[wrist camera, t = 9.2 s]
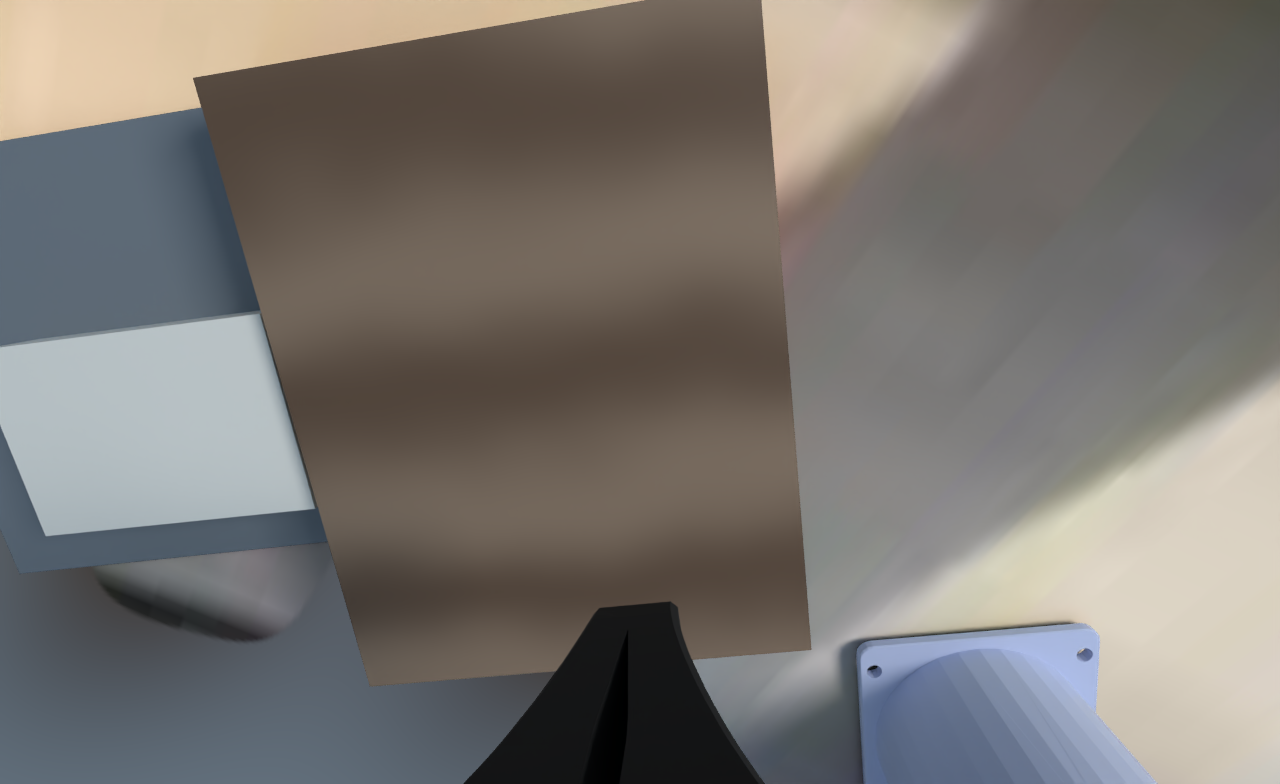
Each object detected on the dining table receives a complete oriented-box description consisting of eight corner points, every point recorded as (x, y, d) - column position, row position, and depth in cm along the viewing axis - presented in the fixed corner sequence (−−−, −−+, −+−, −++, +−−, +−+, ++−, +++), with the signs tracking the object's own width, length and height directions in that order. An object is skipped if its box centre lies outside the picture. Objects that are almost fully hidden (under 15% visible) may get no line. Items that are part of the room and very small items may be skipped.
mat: (368, 531, 22) (361, 538, 21) (33, 566, 23) (20, 573, 22) (252, 104, 18) (241, 100, 18) (-137, 169, 19) (-158, 167, 19)
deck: (792, 593, 22) (811, 649, 19) (408, 627, 23) (370, 686, 20) (744, 22, 17) (759, -20, 14) (269, 101, 18) (192, 77, 15)
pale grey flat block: (300, 305, 19) (259, 313, 17) (348, 482, 21) (315, 508, 19) (37, 339, 20) (-31, 351, 18) (101, 508, 22) (45, 536, 20)
